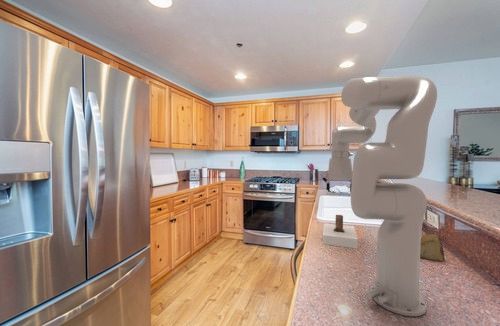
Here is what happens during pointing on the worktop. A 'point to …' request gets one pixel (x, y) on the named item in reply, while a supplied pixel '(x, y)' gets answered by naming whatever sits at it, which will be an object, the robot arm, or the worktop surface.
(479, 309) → the worktop surface
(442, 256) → the rock
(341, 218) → the peg
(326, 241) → the hole block
